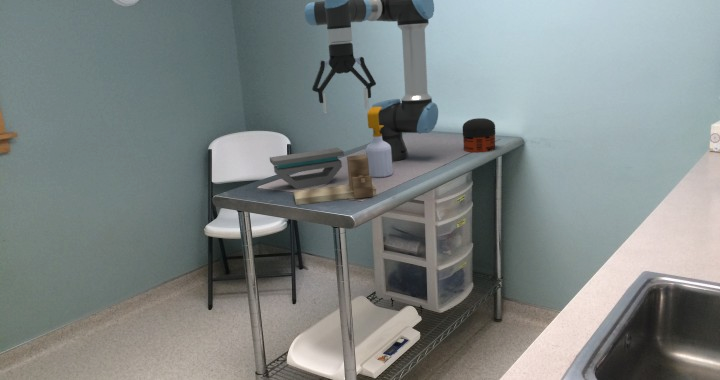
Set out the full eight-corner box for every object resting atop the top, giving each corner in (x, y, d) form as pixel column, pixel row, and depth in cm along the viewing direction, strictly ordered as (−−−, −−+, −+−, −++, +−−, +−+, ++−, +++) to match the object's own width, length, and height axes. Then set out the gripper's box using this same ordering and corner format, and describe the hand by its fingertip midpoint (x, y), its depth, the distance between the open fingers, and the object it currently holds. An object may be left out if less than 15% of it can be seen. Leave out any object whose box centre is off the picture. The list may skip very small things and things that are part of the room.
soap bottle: (396, 171, 228) (391, 105, 221) (387, 178, 220) (381, 109, 213) (374, 171, 232) (368, 105, 225) (364, 177, 224) (358, 109, 217)
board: (371, 187, 210) (370, 181, 209) (376, 194, 200) (376, 189, 199) (294, 197, 206) (293, 191, 205) (296, 205, 196) (295, 199, 196)
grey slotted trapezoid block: (277, 192, 214) (273, 161, 211) (273, 187, 221) (269, 157, 218) (346, 181, 221) (343, 151, 218) (340, 176, 228) (337, 147, 225)
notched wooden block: (367, 188, 207) (364, 154, 204) (373, 196, 197) (370, 161, 194) (349, 190, 206) (346, 156, 203) (355, 199, 196) (351, 163, 193)
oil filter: (488, 153, 245) (500, 146, 255) (487, 122, 242) (499, 116, 252) (458, 152, 252) (470, 145, 262) (457, 122, 249) (469, 116, 259)
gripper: (377, 39, 199) (381, 105, 204) (299, 46, 195) (306, 113, 200) (382, 39, 191) (386, 108, 197) (301, 46, 188) (308, 116, 193)
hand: (346, 111), depth 199 cm, fingers open, 13 cm apart
